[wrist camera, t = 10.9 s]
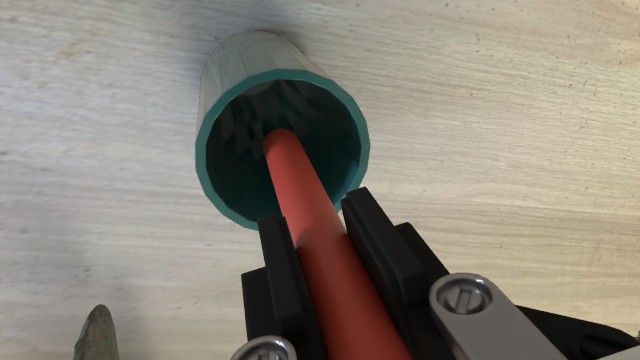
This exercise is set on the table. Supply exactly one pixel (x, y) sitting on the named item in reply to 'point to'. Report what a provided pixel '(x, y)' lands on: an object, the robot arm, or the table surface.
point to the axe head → (97, 337)
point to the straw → (330, 261)
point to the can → (272, 125)
